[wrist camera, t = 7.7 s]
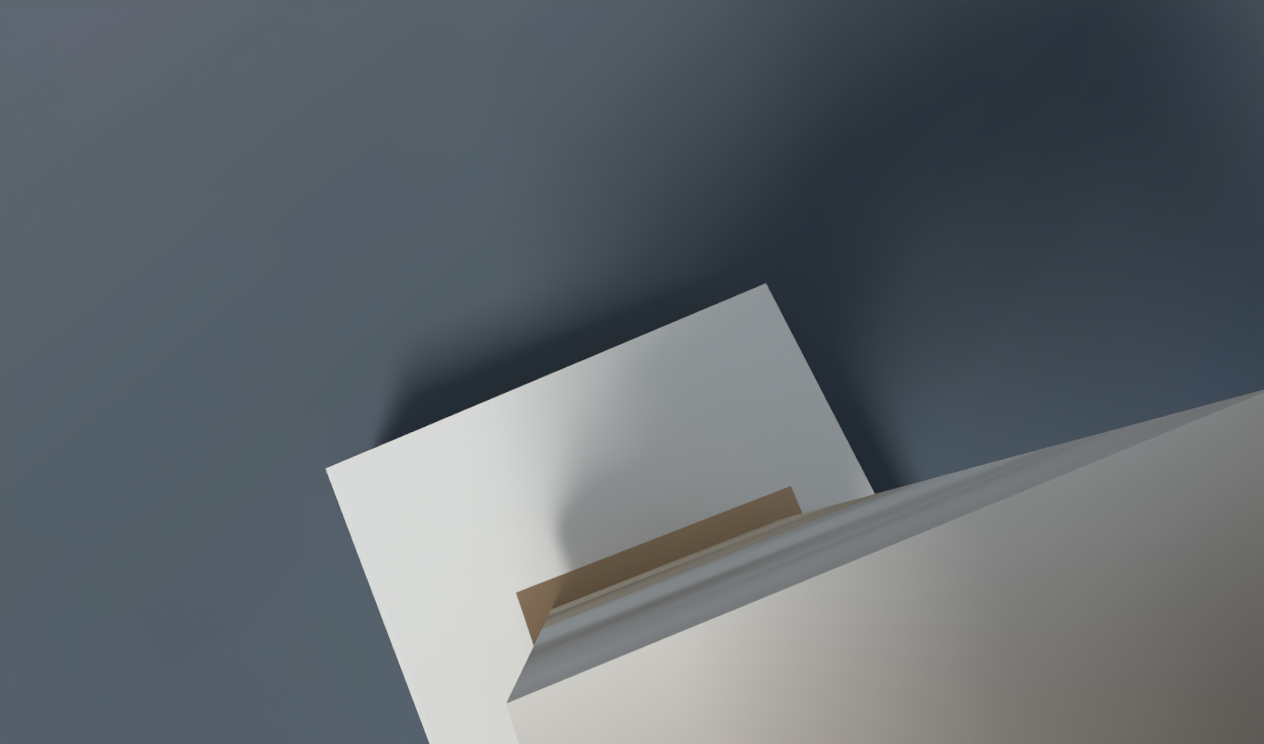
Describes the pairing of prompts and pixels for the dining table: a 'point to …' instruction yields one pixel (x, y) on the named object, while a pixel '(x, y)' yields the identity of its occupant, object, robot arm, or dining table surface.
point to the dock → (577, 490)
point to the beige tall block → (935, 608)
